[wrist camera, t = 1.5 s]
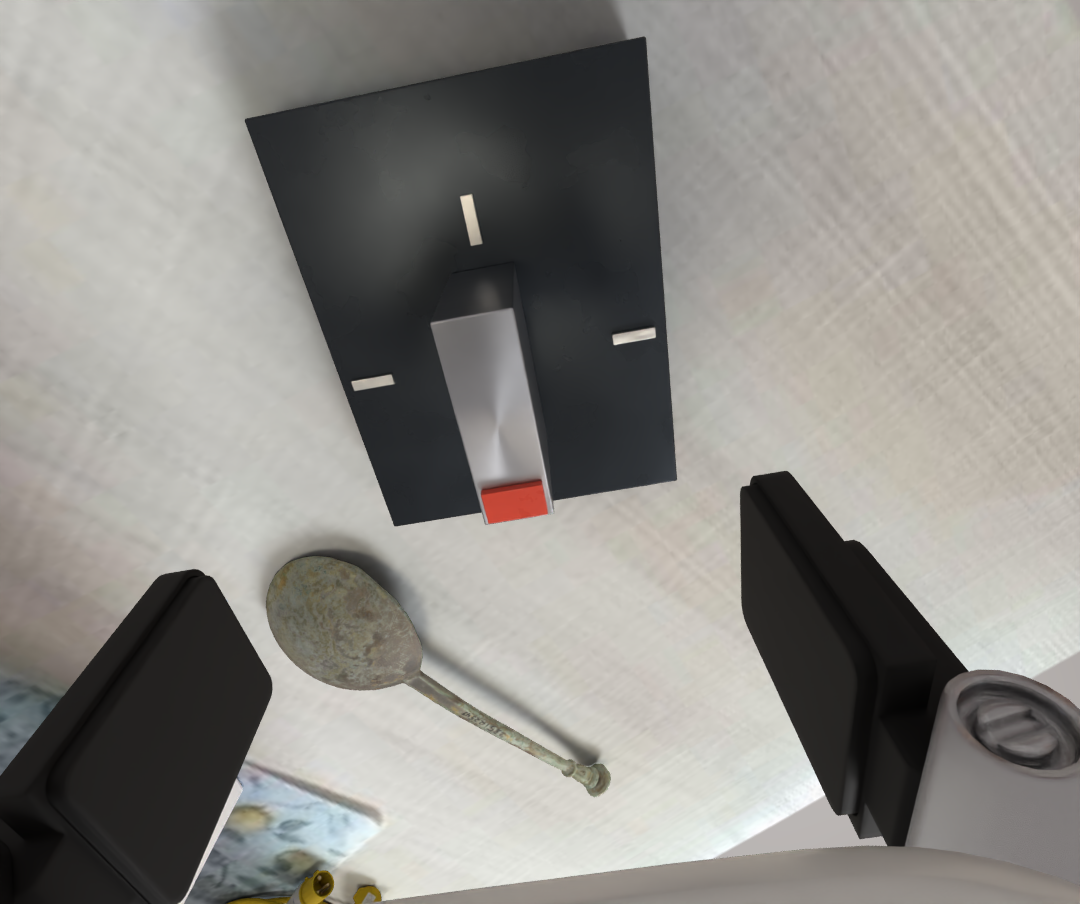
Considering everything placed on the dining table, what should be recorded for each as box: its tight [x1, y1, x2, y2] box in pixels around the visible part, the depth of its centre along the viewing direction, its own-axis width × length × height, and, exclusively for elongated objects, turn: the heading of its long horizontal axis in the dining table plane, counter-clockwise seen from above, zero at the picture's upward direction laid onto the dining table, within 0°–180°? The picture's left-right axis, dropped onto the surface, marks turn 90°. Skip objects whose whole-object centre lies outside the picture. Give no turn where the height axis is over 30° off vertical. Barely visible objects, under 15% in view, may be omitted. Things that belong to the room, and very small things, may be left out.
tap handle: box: [430, 262, 554, 525], centre depth 17 cm, size 6×2×5 cm, turn 10°
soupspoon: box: [266, 556, 611, 797], centre depth 30 cm, size 22×3×7 cm
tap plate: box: [245, 37, 677, 526], centre depth 20 cm, size 14×11×3 cm
